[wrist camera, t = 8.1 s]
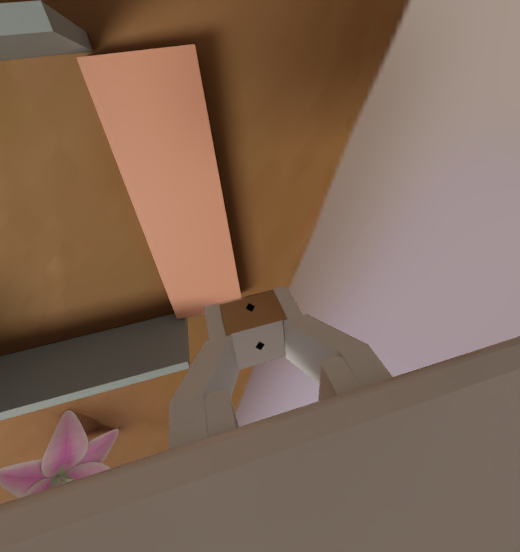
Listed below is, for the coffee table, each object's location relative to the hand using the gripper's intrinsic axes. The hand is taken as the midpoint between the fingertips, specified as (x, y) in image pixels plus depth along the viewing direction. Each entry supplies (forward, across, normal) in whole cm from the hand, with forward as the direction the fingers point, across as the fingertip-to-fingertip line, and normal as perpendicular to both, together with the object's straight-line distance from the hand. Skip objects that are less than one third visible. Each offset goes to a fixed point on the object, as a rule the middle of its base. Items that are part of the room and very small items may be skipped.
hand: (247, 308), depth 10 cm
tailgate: (+12, +5, +1) cm, 14 cm away
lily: (+13, +21, +25) cm, 35 cm away
